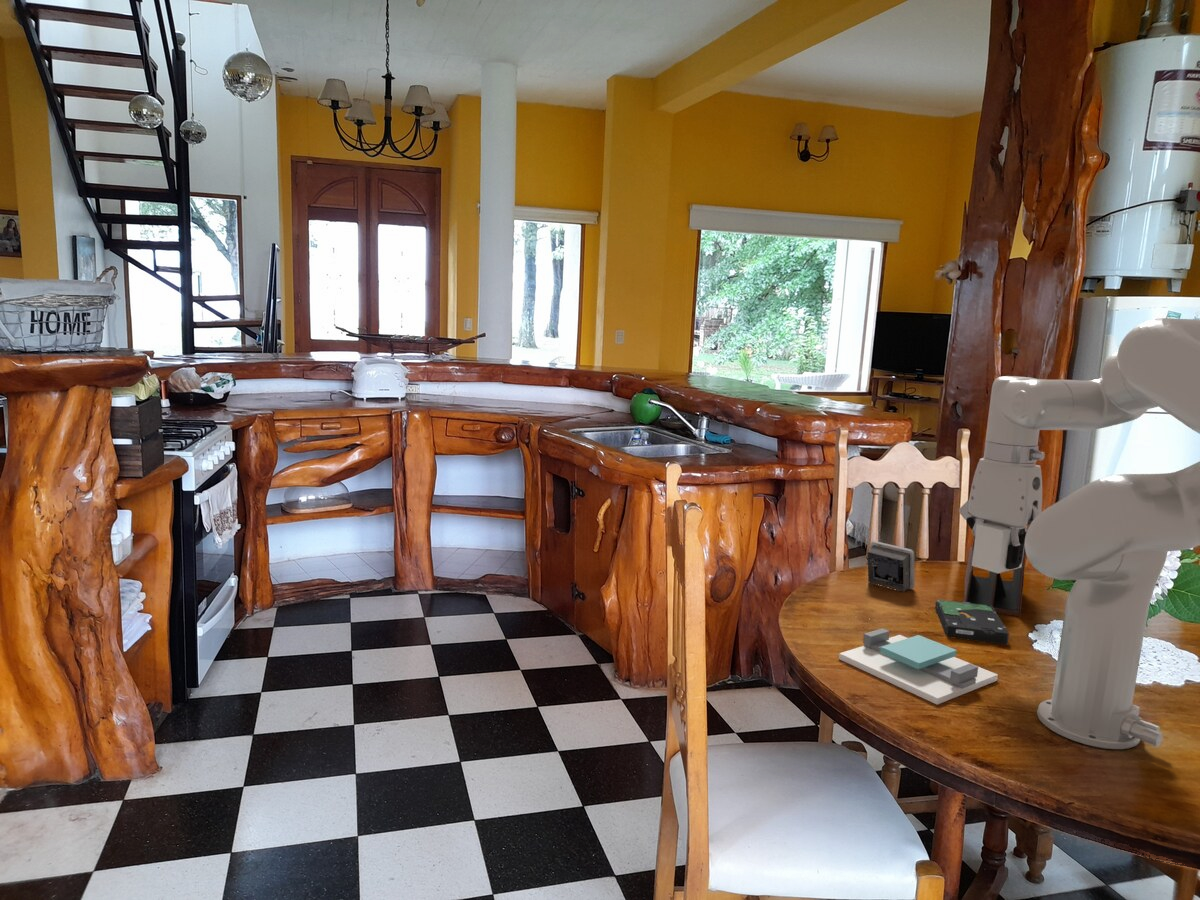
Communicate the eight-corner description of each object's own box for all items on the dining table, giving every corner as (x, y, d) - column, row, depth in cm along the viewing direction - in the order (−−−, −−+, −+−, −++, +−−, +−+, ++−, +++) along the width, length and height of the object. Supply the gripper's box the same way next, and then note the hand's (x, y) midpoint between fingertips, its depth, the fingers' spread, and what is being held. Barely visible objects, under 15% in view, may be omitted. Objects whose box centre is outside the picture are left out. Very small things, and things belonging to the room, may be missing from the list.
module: (1021, 567, 135) (1027, 525, 134) (997, 573, 131) (1003, 530, 130) (993, 559, 139) (998, 519, 138) (969, 565, 135) (975, 523, 134)
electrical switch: (915, 589, 172) (918, 547, 170) (904, 597, 168) (907, 555, 166) (872, 578, 178) (874, 538, 176) (861, 586, 174) (863, 544, 172)
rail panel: (997, 680, 130) (999, 660, 129) (937, 704, 121) (939, 683, 120) (899, 640, 144) (901, 621, 144) (838, 659, 135) (840, 639, 135)
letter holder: (1015, 587, 176) (1023, 524, 174) (1020, 618, 159) (1029, 547, 156) (964, 579, 180) (972, 517, 178) (963, 608, 162) (972, 539, 160)
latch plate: (956, 656, 132) (956, 650, 132) (918, 669, 127) (919, 663, 126) (917, 640, 138) (918, 634, 138) (880, 652, 132) (880, 646, 132)
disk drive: (1008, 648, 145) (990, 617, 159) (1011, 633, 144) (992, 603, 158) (946, 640, 147) (933, 610, 161) (948, 625, 146) (934, 597, 161)
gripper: (1076, 461, 127) (1060, 574, 130) (973, 444, 141) (961, 547, 144) (1051, 464, 123) (1035, 581, 126) (948, 447, 137) (936, 552, 140)
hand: (996, 562), depth 135 cm, fingers closed on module, 4 cm apart
